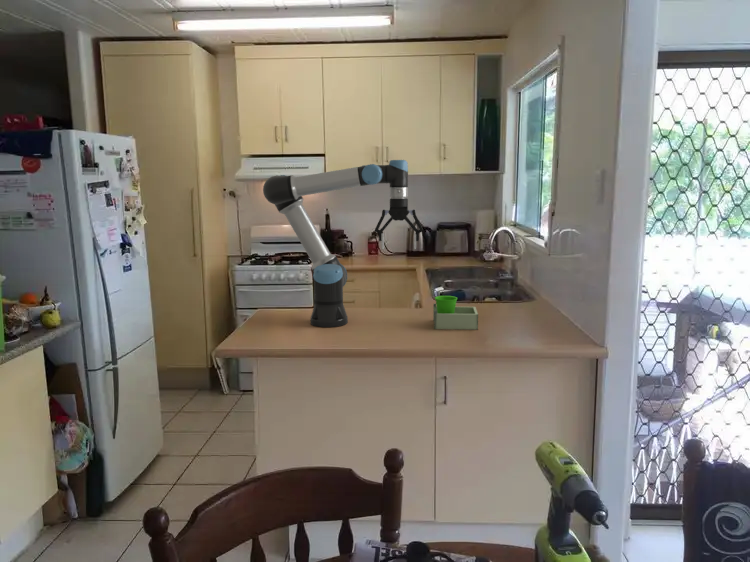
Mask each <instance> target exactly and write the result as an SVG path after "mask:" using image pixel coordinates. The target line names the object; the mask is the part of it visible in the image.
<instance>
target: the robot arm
mask: <svg viewBox="0 0 750 562" xmlns="http://www.w3.org/2000/svg"><path fill="white" fill-rule="evenodd" d="M408 167H409V165H408V161H407V160H405V159H390V160H389V164H374V163H370V164H365V165H361V166H355V167H350V168H349V167H348V168H344V169H342V168H341V169H337V170H333V171H332V170H330V171H325V172H319V173H313V174H308V175H301V176H294V175H292V174H291V175H284V174H283V175H281V174H280V175H274V176H273V175H272V176H270V177H268V178H267V179H266V181H265V182H264V183H263V185H262V187H263V188H262V194H263V195H264V196H263V197H264V198H265V199H266V200H267V202H269V203H270V204H273V205H274V206H275V208H276V209H277V211H278V213H280V214H283V215H284V216H285V218H286V219H287V222H288V223H289V225H290V226H291V228H292V230H293V232H294V234H295V235H296V237H297V239H298V240H299V242H300V243H301V245H302V247H303V249H304V250H305V252H306V254H307V255H308V257H309V259H310V261H311V263H312V267H311V268H312V269H311V270H312V272H313V274H312V277H313V292H314V293H313V299H314V302H313V303H314V305H313V309H312V311H311V315H310V325H311V326H314V327H318V328H336V327H341V326H345V325H347V324H348V320H349V319H348V318H349V317H348V315H347V311H346V308H345V305H344V291H343V290H344V287H345V285H346V283H347V280H348V272H347V269H346V267H345V266H344V265H343V264H342V263H341V261H339V259H338V257H337V256H336V255H335V254H332V253H331V251H330V250H329V248H328V246H327V245H326V243H325V241H324V240H323V238H322V236H321V234H320V233H319V231H318V229H317V228H316V226H315V224H314V222H313V221H312V219H311V217H310V215H309V214H308V212H307V210H306V208H305V207H304V205H303V203H304V198H303V196H309V195H316V194H320V193H321V194H322V193H327V192H332V191H338V190H344V189H345V190H347V189H352V188H357V187H361V186H362V187H363V186H364V187H365V186H371V185H378V184H379V185H380V184H389V197H390V198H389V210H388V209H382V212H381V216H380V218H379V220H378V222H377V224H376V226H375V229H374V232H375V233H377V234H378V241H379V242H381V250H384V249H385V235H384V231H385V230H386V229H387V227H388V226H389V225H390V224H391V223H392V221H395V222H396V221H404V220H405V222H406V223H407V224H408V226H410V228H411V229H412V230H413V231H414V233H413V250H417V242H419V241H420V240H419V239H420V233H423V232H424V228H423V226H422V224H421V223H420V220H419V219H418V216H417V214H416V209H409V199H408V197H409V183H408V182H409V168H408ZM409 214H410V215H411V216H412V217H413V219H414V221H415V223H416V225H417V227H418V228H417V227H416V226H415V224H414V223H413V222H412V221H411V220H410V219H409V218H408V215H409ZM387 215H390V217H389V218H388V220H387V221H386V222H385V224H383V226H382V227H381V228H380V226H381V224H382V222H383V221H384V218H385V217H386V216H387Z"/></svg>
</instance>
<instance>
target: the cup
mask: <svg viewBox="0 0 750 562" xmlns="http://www.w3.org/2000/svg"><path fill="white" fill-rule="evenodd" d="M434 300H435V304H436V306H437V312H438V314H454V312H455V307H457V300H458V297H456V296H452V295H437V296H434Z"/></svg>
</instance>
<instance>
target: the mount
mask: <svg viewBox="0 0 750 562" xmlns="http://www.w3.org/2000/svg"><path fill="white" fill-rule="evenodd" d="M432 308H433V310H432V311H433V312H432V314H433V317H432V318H433V329H434V330H477V331H478V330H479V313H478V312H479V311H478V310H477V307H476V306H455V312H454V314H438V312H437V305H436V303H433V307H432Z"/></svg>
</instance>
